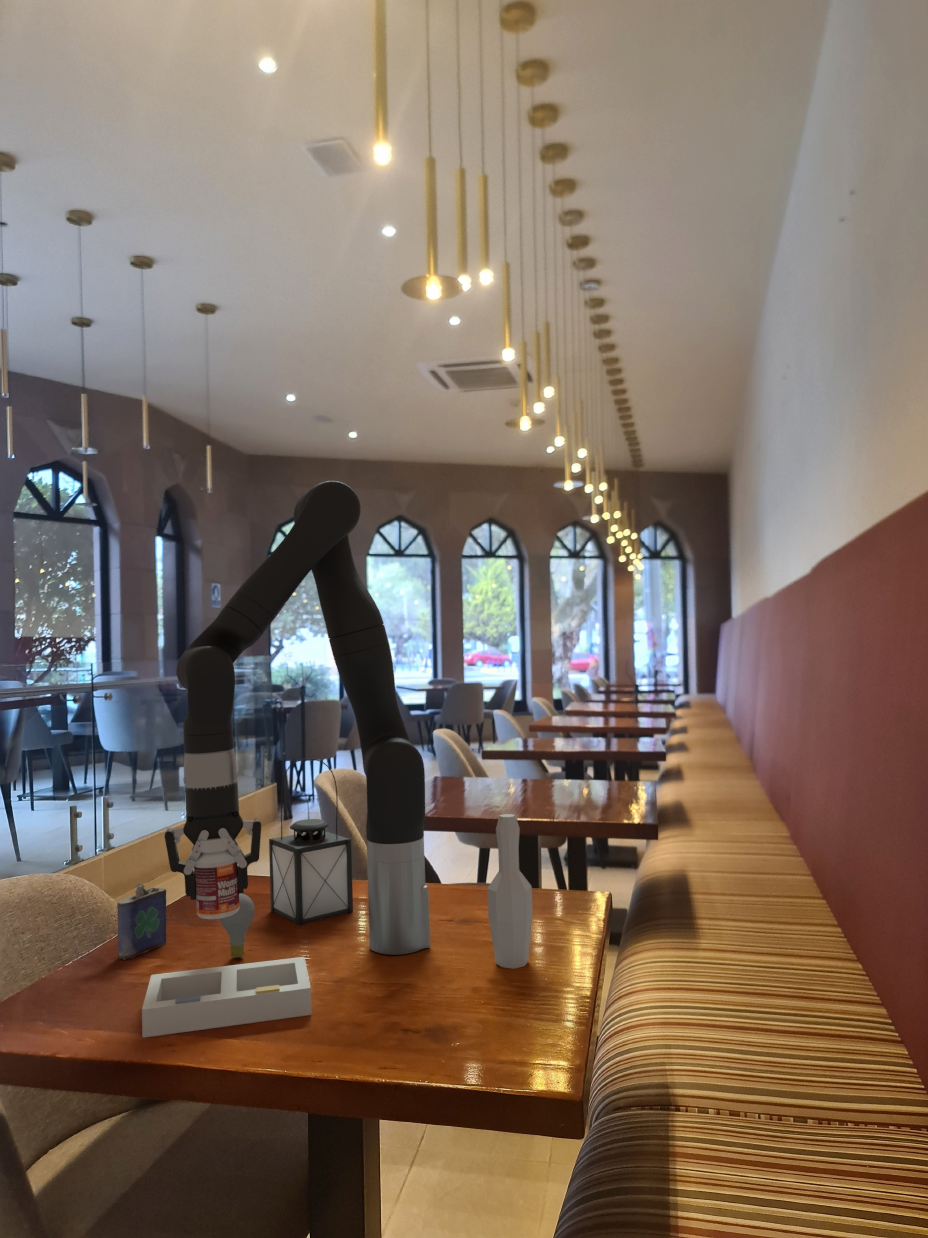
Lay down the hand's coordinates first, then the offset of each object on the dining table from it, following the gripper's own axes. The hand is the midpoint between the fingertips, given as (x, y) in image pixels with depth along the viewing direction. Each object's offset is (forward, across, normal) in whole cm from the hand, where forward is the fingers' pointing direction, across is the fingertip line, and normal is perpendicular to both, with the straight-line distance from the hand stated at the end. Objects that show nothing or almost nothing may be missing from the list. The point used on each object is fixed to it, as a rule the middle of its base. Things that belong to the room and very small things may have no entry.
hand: (217, 895), depth 128 cm
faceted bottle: (+14, -42, +8) cm, 45 cm away
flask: (+12, +13, -18) cm, 25 cm away
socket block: (+12, -1, +11) cm, 16 cm away
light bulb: (+13, -2, -8) cm, 15 cm away
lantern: (+13, -16, -28) cm, 35 cm away
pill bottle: (+3, 0, 0) cm, 3 cm away
